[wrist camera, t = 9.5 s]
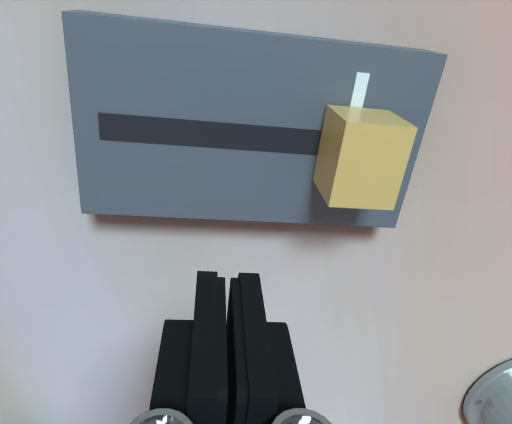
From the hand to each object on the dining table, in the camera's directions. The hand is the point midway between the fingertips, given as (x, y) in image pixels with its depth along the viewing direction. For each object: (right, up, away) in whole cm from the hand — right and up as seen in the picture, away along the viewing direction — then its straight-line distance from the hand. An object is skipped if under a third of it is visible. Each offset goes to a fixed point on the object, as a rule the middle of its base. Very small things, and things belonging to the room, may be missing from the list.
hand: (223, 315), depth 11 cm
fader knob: (+7, +7, +15) cm, 18 cm away
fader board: (+1, +9, +17) cm, 19 cm away
